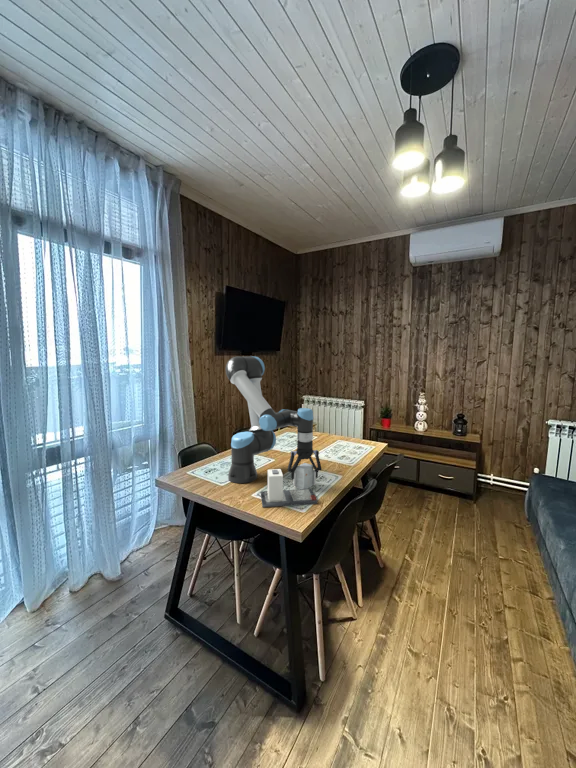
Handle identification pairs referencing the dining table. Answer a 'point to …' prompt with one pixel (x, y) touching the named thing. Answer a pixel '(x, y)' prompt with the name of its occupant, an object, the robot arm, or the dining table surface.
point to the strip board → (290, 498)
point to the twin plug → (275, 484)
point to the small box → (304, 476)
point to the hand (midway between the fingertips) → (304, 484)
